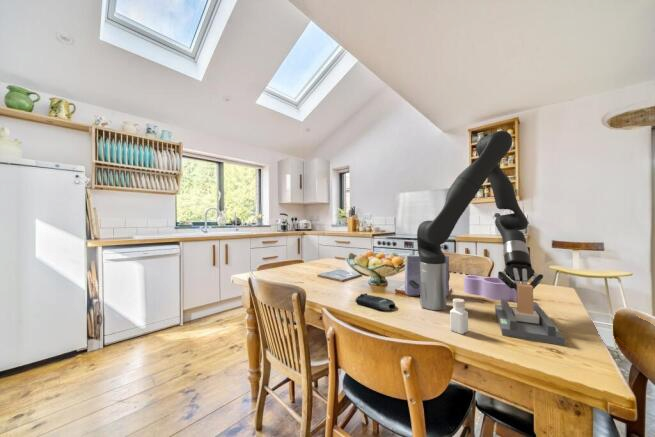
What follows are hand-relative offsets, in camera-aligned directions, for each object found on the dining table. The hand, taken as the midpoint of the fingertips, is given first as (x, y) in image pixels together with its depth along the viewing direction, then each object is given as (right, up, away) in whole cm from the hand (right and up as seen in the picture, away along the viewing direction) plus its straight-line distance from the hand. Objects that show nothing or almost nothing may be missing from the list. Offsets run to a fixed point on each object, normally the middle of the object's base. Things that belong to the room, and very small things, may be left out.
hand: (523, 299), depth 83 cm
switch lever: (-1, -6, -2) cm, 6 cm away
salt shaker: (-22, -9, -4) cm, 24 cm away
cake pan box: (-18, -8, +32) cm, 38 cm away
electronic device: (-43, -9, +20) cm, 49 cm away
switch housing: (0, -8, -1) cm, 8 cm away
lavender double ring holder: (+8, -8, +30) cm, 32 cm away
